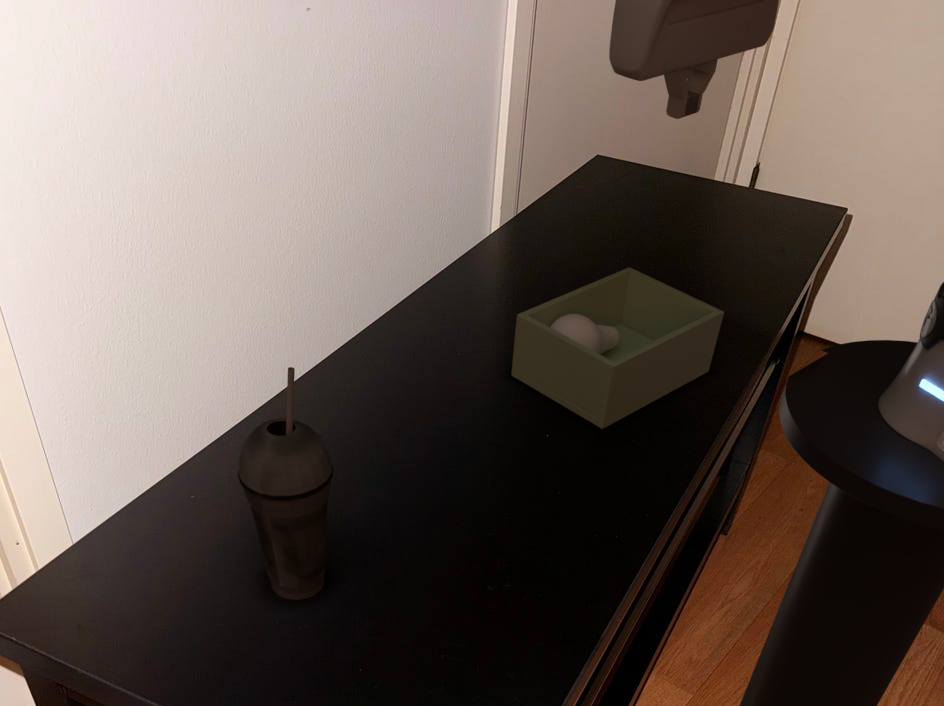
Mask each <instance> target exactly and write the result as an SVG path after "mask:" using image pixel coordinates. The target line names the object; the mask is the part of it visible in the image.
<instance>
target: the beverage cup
mask: <svg viewBox="0 0 944 706" xmlns="http://www.w3.org/2000/svg"><path fill="white" fill-rule="evenodd" d="M295 370H296V369H295V367H293V366H289V367H287V381H286V383H287V385H286V387H287V389H286V418H284V417H283V418H282V417H279V418H273V419H270V420H266V421H264V422H263V423H261V424H259V425H257V427H256V428H253V430H252V431H251V432H250V434H248V436H247V437H246V439H245V440H244V442H243V444H242V446H241V450H240V454H239V459H238V470H237V478H238V481H239V484H240V486H241V487H242V490H243V492H244V495H245V498H246V501H247V502H248V504H249V507H250V510H251V513H252V518H253V522H254V526H255V530H256V534H257V537H258V542H259V545H260V550H261V553H262V554H261V555H262V558H263V561H264V565H265V570H266V573H267V576H268V578H269V580H270V585H271V588H272V590H273V592H275V594H276V595H278V596H279V597H281V598H283V599H287V600H292V601H293V600H295V601H297V600H298V601H299V600H300V601H301V600H304V599H305V600H306V599H309V598H311V597H313V596H315V595H317V594H318V593H319V592H320V591H321V590H322V588H323V587H324V585H325V572H326V564H327V563H326V562H327V561H326V560H327V535H328V534H327V533H328V532H327V531H328V503H329V497H330V492H331V486H332V479H333V477H334V466H333V463H332V461H331V455H330V454H329V451H328V450H329V449H327V447H326V444H325V442H324V440H323V438H322V437H321V436H320V434H319V433H317V432H316V431H315V430H314V429H313V428H311V426H309V425H308V424H305V423H304V422H303V421H302V422H301V421H300V420H297V419H294V405H295V403H294V401H295V372H296V371H295Z"/></svg>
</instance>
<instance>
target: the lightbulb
mask: <svg viewBox="0 0 944 706" xmlns="http://www.w3.org/2000/svg"><path fill="white" fill-rule="evenodd" d="M550 328H552V329H554V330H556V331H557V332H559V333H561V334H563V335H565V336H567V337H569V338H570V339H572V340H574V341H576V342H578V343H580V344H582V345H583V346H585V347H587V348H589V349H591V350H593V351H594V352H596V353H598V354H602V353H604V352H606V351H607V350H610V349H613V348H615V347H616V346H617V345H618V343H619V333H618V331H617V329H616V328H614V327H611V326H603V325H596V324H595V323H594V322H593V321H591V320H590V319H589V318H588V317H586V316H583V315H580V314H568V315H565V316H562V317H560V318H559V319H557V320H556V321H555V322H554V323H553V324H552V325H551V327H550Z"/></svg>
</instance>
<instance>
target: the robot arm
mask: <svg viewBox="0 0 944 706" xmlns="http://www.w3.org/2000/svg"><path fill="white" fill-rule="evenodd" d="M779 3H780V0H615V2H614V9H613V16H612V22H611V23H612V24H611V31H610V38H609V47H608V49H609V52H608V58H609V63H610V65H611V68H612V70H613V72H614V74H616V75H619V76H622V77H624V78H627V79H630V80H633V81H637V82H644V81H648V80H651V79H654V78H658V77H661V76H663V77H664V82H665V86H666V90H667V95H668V97H667V104H666V110H665V111H666V115H667V116H668V117H670V118H673V119H676V120H680V119H683V118H685V117H688V116H692V115H694V114H697V113H699V112H700V110H701V105H702V102H703V101H702V100H703V95H704V93H705V92H706V90H707V88H708V86H709V84H710V82H711V80H712V79H713V77H714V75H715V73H716V72H717V66H718V60H720V59H724V58H727V57H731V56H733V55H737V54H741V53H744V52H748V51H751V50H754V49H757V48H762V47H764V46H765V45H766V44H767V42H768V41H769V39H770V37H771V35H772V34H773V31H774V29H775V24H776V19H777V14H778V7H779ZM916 342H917V344H916V346H915V348H914V350H913V351H912V353H911V355H910V356H909V358H908V360H907V361H906V363H905V365H904V366H903V368H902V369H901V371H900V372H899V374H898V375H897V376H896V378H895V379H894V381H893V382H892V383H891V385H890V386H889V387H888V388H887V389H886V390H885V392H884V393H883V394H882V395H881V396H880V398H879V402H878V408H879V411H880V414H881V416H882V417H883V419H884V420H885V421H886V422H887V424H888V425H889V426H891V427H892V428H893V429H894V430H895V431H896V432H898V433H899V434H901V435H902V436H904V437H905V438H907V439H909V440H911V441H913V442H915V443H917V444H919V445H921V446H923V447H925V448H927V449H928V450H930V451H931V452H932V453H934V454H935V455H936V456H937V457H938V458H940V459H941V460H942V461H944V281H943V282H942V283H941V284H940V285H939V288H938V290H937V291H936V294H935V296H934V298H933V300H932V301H931V303H930V305H929V307H928V309H927V311H926V314H925V316H924V319H923V322H922V324H921V327H920V331H919V338H918V340H917V341H916Z"/></svg>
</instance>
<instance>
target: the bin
mask: <svg viewBox="0 0 944 706" xmlns="http://www.w3.org/2000/svg"><path fill="white" fill-rule="evenodd" d="M568 314H580V315H583V316H586V317H588V318H589V319H590V320H591V321H593V322H594V323H595V324H596V325H603V326H611V327H614V328H616V329H617V331H618V333H619V343H618V345H617V346H616V347H615V348H613V349H610V350H607V351H606V352H604V353H602V354H598V353H596V352H594V351H593V350H591V349H589V348H587V347H585V346H583V345H582V344H580V343H578V342H576V341H574V340H572V339H570V338H569V337H567V336H565V335H563V334H561V333H559V332H557V331H556V330H554V329H552V328H550V327H551V325H552V324H553V323H554V322H555V321H556V320H557V319H559V318H560V317H562V316H565V315H568ZM724 315H725V311H723V310H721V309H719V308H717V307H715V306H713V305H710V304H709V303H706V302H704V301H702V300H700V299H698V298H695V297H693V296H691V295H689V294H687V293H685V292H683V291H682V290H678V289H677V288H675V287H673V286H670V285H669V284H666V283H664V282H661V281H660V280H657V279H655V278H653V277H651V276H649V275H648V274H645V273H642V272H641V271H638V270H636V269H634V268H632V267H626V268H624V269H622V270H620V271H617V272H615V273H611V274H610V275H607V276H605V277H603V278H601V279H598V280H596V281H594V282H590V283H589V284H586V285H584V286H581V287H579V288H577V289H575V290H572V291H569V292H566V293H565V294H562V295H560V296H558V297H555V298H552V299H551V300H548V301H546V302H544V303H541V304H539V305H537V306H534V307H531V308H529V309H526V310H525V311H523V312H519V313H517V314H516V321H515V331H514V332H515V333H514V343H513V354H512V362H511V363H512V364H511V376H512V377H513V378H514V379H517V380H518V381H520V382H521V383H523V384H524V385H527V386H528V387H530V388H532V389H534V390H535V391H537V392H539V394H541V395H544V396H545V397H547V398H549V399H551V400H552V401H554V402H555V403H557V404H559V405H560V406H562V407H564V408H566V410H569V411H570V412H573V413H574V414H575V415H578V416H579V417H581V418H582V419H584V420H586V421H587V422H589V423H591V424H593V425H594V426H596V427H598V428H600V430H601V429H602V430H603V429H605V428H607V427H609V426H611V425H613V424H614V423H616V422H618V421H620V420H622V419H624V418H625V417H628V416H630V415H631V414H633V413H634V412H635V413H636V411H639V410H641V409H642V408H644V407H646V406H648V405H649V404H651V403H654V402H655V401H657V400H658V399H659V400H660V398H662V397H664V396H667V395H668V394H670V393H671V392H673V391H675V390H677V389H679V388H681V387H683V386H684V385H686V384H689V383H690V382H692V381H694V380H696V379H697V378H699V377H702V376H703V375H705V374H707V373H709V371H710V368H711V364H712V360H713V356H714V353H715V349H716V345H717V341H718V337H719V334H720V330H721V326H722V322H723V318H724Z"/></svg>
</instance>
